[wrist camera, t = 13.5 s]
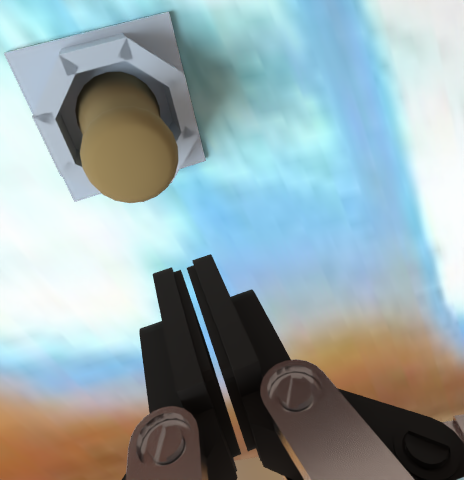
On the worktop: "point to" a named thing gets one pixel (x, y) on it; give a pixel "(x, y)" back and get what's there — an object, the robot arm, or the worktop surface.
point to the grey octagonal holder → (93, 64)
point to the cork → (124, 138)
